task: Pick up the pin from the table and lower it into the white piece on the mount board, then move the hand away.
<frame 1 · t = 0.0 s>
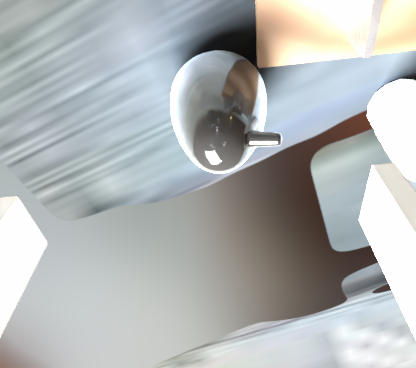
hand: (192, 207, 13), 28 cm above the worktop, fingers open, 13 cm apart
white cup: (394, 104, 40), on the worktop
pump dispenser: (218, 84, 39), on the worktop
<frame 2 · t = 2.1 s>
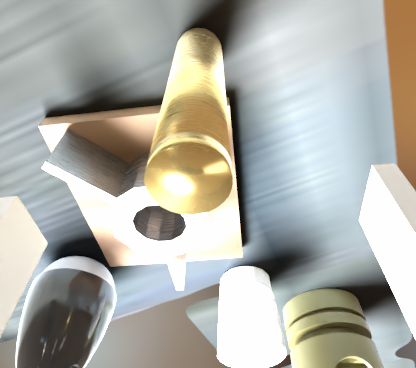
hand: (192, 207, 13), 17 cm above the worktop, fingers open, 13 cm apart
white piece: (165, 187, 33), resting on mount board
white cup: (244, 278, 45), on the worktop
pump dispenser: (85, 267, 44), on the worktop
pin: (199, 52, 26), on the worktop
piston: (319, 308, 50), on the worktop
mount board: (167, 177, 34), on the worktop
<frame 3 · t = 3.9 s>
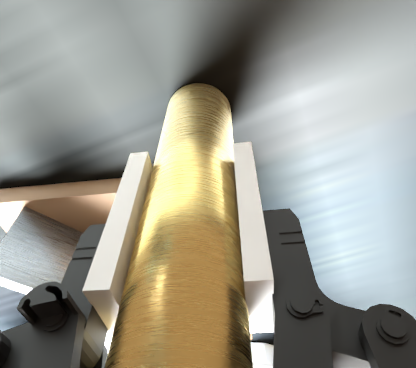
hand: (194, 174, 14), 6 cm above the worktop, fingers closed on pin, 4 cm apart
white piece: (155, 270, 25), resting on mount board
white cup: (253, 353, 38), on the worktop
pin: (199, 113, 19), on the worktop, touching gripper
mount board: (158, 254, 27), on the worktop
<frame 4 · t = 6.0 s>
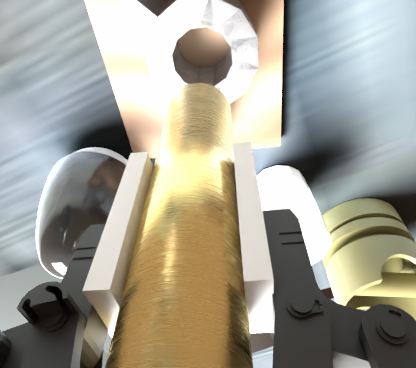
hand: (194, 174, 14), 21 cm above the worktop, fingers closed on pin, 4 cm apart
white piece: (203, 40, 29), resting on mount board
white cup: (277, 184, 42), on the worktop
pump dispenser: (106, 168, 41), on the worktop
pin: (199, 113, 19), point 15 cm above the worktop, touching gripper
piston: (355, 226, 47), on the worktop
mount board: (204, 35, 31), on the worktop
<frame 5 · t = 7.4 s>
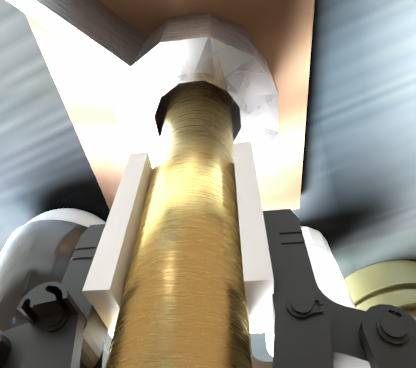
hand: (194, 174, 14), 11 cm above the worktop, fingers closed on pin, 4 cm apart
white piece: (200, 85, 22), resting on mount board
white cup: (292, 245, 34), on the worktop
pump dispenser: (81, 227, 33), on the worktop
pin: (199, 112, 19), point 5 cm above the worktop, touching gripper
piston: (383, 288, 39), on the worktop
mount board: (201, 76, 23), on the worktop
when the fingers open (8 cm above the worktop, at t = 8.3 s): pin stays where it is, resting on mount board.
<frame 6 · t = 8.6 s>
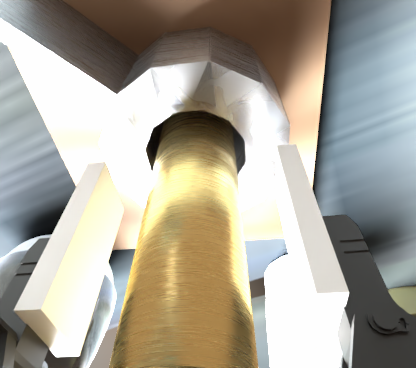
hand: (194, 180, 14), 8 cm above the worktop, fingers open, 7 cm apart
white piece: (199, 107, 19), resting on mount board
white cup: (298, 271, 32), on the worktop
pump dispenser: (71, 252, 31), on the worktop
pin: (199, 107, 19), point 2 cm above the worktop, touching mount board
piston: (395, 313, 37), on the worktop
mount board: (200, 96, 20), on the worktop
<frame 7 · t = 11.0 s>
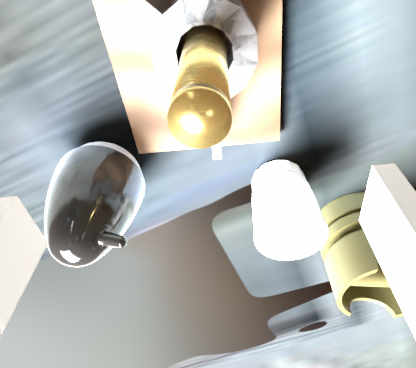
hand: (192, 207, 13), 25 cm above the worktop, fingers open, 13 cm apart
white piece: (205, 37, 31), resting on mount board
white cup: (276, 178, 43), on the worktop
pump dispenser: (110, 162, 42), on the worktop
pin: (205, 37, 31), point 2 cm above the worktop, touching mount board
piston: (352, 220, 48), on the worktop
mount board: (206, 33, 32), on the worktop
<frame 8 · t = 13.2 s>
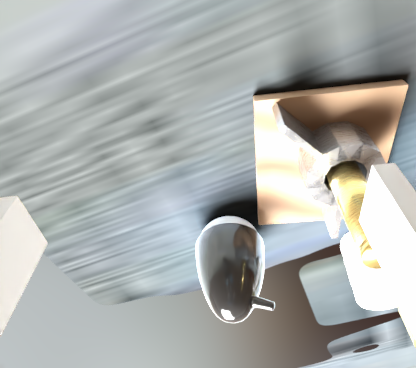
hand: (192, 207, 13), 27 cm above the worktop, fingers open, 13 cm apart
white piece: (333, 152, 41), resting on mount board
white cup: (360, 239, 54), on the worktop
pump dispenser: (229, 227, 52), on the worktop
pin: (332, 152, 41), point 2 cm above the worktop, touching mount board
mount board: (329, 146, 42), on the worktop
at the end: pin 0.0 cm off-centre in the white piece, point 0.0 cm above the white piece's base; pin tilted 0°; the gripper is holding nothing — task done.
